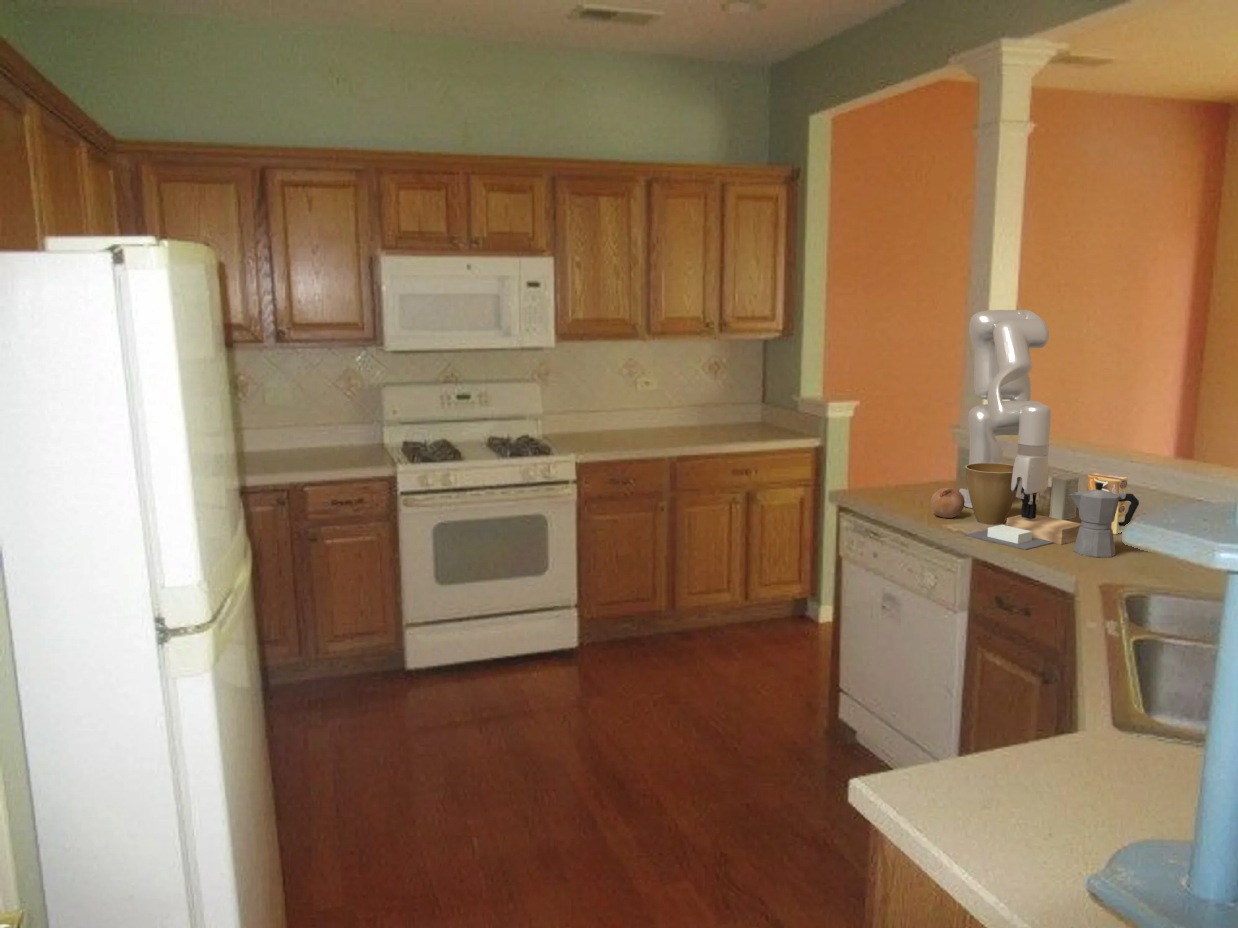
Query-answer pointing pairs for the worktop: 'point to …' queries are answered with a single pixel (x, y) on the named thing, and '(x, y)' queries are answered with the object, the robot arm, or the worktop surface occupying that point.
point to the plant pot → (990, 491)
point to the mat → (1025, 545)
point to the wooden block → (1047, 528)
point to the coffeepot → (1099, 520)
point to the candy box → (1113, 486)
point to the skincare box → (1063, 497)
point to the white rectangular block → (1009, 534)
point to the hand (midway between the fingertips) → (1028, 517)
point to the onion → (947, 502)
